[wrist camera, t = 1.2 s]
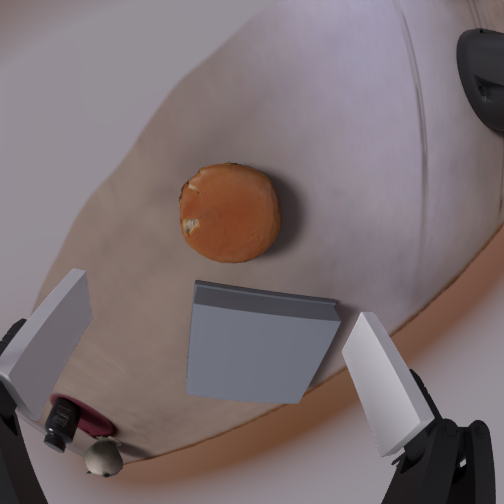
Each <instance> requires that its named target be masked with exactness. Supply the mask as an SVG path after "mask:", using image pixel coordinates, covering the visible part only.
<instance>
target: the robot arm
mask: <svg viewBox="0 0 504 504" xmlns="http://www.w3.org/2000/svg"><path fill="white" fill-rule="evenodd" d="M457 64H458V70H459V75H460V78H461V82H462V85H463V88H464V91H465V93H466V95H467V98H468V100H469V102H470V104H471V106H472V108H473V109H474V111H475V112H476V114H477V115H478V117H479V118H480V119H481V120H482V122H483V123H484V124H486V125H487V126H488V127H489V128H491V129H493V130H497V131H502V132H504V33H500V32H496V31H492V30H488V29H483V28H476V29H472V30H467V31H465V32H463V33H462V35H461V36H460V38H459V40H458V44H457ZM92 318H93V316H92V310H91V304H90V297H89V290H88V282H87V274H86V271H84V270H79V269H74V268H73V269H72V270H71V271H70V272H69V273H68V274H67V275H66V276H65V277H64V278H63V279H62V280H61V282H60V283H59V284H58V285H57V286H56V287H55V288H54V289H53V290H52V292H51V293H50V294H49V295H48V296H47V297H46V298H45V300H44V301H43V302H42V303H41V304H40V305H39V307H38V308H37V309H36V310H35V311H34V313H33V314H32V315H31V316H30V317H29V319H28V320H26V319H21V320H19V321H18V322H16V323H15V324H14V325H12V327H11V328H10V329H9V331H8V332H7V334H5V336H4V337H3V338H2V341H0V504H48V502H47V500H46V498H45V496H44V493H43V491H42V489H41V487H40V485H39V482H38V480H37V477H36V475H35V472H34V470H33V467H32V465H31V462H30V459H29V456H28V453H27V450H26V447H25V444H24V440H23V437H22V433H21V430H20V426H19V422H18V418H17V415H16V412H15V409H16V407H17V406H18V408H19V409H20V410H21V412H22V413H23V414H24V415H26V416H28V417H30V418H32V419H34V420H36V421H38V420H39V417H40V415H41V413H42V411H43V409H44V407H45V404H46V402H47V400H48V398H49V396H50V394H51V392H52V390H53V388H54V386H55V384H56V382H57V380H58V378H59V376H60V374H61V372H62V370H63V369H64V367H65V365H66V363H67V361H68V359H69V358H70V356H71V354H72V352H73V350H74V349H75V347H76V345H77V343H78V342H79V340H80V338H81V337H82V335H83V333H84V331H85V330H86V328H87V326H88V325H89V323H90V322H91V320H92ZM341 352H342V354H343V357H344V359H345V362H346V364H347V367H348V369H349V372H350V374H351V377H352V380H353V382H354V385H355V387H356V390H357V393H358V395H359V398H360V400H361V403H362V406H363V408H364V411H365V414H366V417H367V419H368V422H369V425H370V428H371V430H372V433H373V436H374V439H375V442H376V444H377V448H378V450H379V453H380V456H381V457H384V456H389V455H392V454H395V453H397V452H398V451H399V450H400V449H401V448H403V447H404V450H405V452H404V453H403V454H402V455H400V456H399V457H398V458H397V459H396V460H394V461H393V462H392V465H394V464H395V463H397V462H398V461H399V460H400V461H399V463H398V465H397V466H396V467H397V469H396V471H395V474H394V476H393V479H392V481H391V483H390V486H389V488H388V490H387V492H386V494H385V497H384V499H383V501H382V503H381V504H496V494H495V493H496V489H495V471H494V460H493V452H492V445H491V437H490V432H489V429H488V427H487V425H486V424H485V423H484V422H483V421H481V420H475V421H474V422H473V423H471V424H470V425H469V426H468V427H458V426H457V425H456V423H455V422H453V421H452V420H450V419H446V418H445V419H443V418H442V417H441V415H440V413H439V411H438V409H437V407H436V405H435V404H434V402H433V400H432V398H431V396H430V394H428V391H427V389H426V387H424V384H423V382H422V380H421V379H420V377H419V376H418V375H417V374H416V373H415V372H414V371H413V370H412V369H408V368H407V366H406V364H405V362H404V361H403V359H402V357H401V355H400V354H399V352H398V350H397V349H396V347H395V346H394V344H393V342H392V340H391V339H390V337H389V336H388V334H387V332H386V331H385V329H384V327H383V326H382V324H381V323H380V321H379V319H378V318H377V316H376V315H375V313H374V312H363V311H361V313H360V316H359V318H358V320H357V322H356V324H355V326H354V328H353V330H352V332H351V334H350V336H349V338H348V340H347V342H346V344H345V346H344V348H343V349H342V351H341ZM464 459H466V464H465V465H464V466H463V467H460V462H462V461H463V460H464Z"/></svg>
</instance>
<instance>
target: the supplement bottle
mask: <svg viewBox="0 0 504 504" xmlns="http://www.w3.org/2000/svg"><path fill="white" fill-rule="evenodd" d="M81 415H82V413H81V410H80V409H79V408H78V407H77V406H76V405H75V404H74V403H72V402H71V401H69V400H67V399H64V398H57V399H56V400H55V402H54V404H53V407H52V409H51V411H50V414H49V416H48V418H47V421H46V423H45V431H46V432H47V435H45V439H44V443H45V444H46V445H48V446H49V447H50V448H52V449H54V450H56V451H58V452H60V453H64V451H65V448H66V444H70V443H72V441H73V438H74V435H75V432H76V429H77V427H78V424H79V421H80V418H81Z"/></svg>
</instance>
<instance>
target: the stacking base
mask: <svg viewBox="0 0 504 504" xmlns="http://www.w3.org/2000/svg"><path fill="white" fill-rule="evenodd" d="M335 305H336V302H335V300H334V299H325V298H317V297H309V296H301V295H293V294H286V293H278V292H271V291H264V290H257V289H250V288H243V287H237V286H230V285H223V284H217V283H211V282H205V281H199V280H196V281H195V287H194V296H193V305H192V315H191V326H190V337H189V349H188V362H187V377H186V378H187V387H186V394H188V395H194V396H201V397H209V398H217V399H226V400H236V401H248V402H263V403H296V404H298V403H299V401H300V399H301V398H302V396H303V394H304V392H305V391H306V389H307V387H308V385H309V384H310V382H311V380H312V378H313V376H314V375H315V373H316V371H317V369H318V367H319V365H320V363H321V362H322V360H323V358H324V356H325V354H326V352H327V350H328V348H329V346H330V344H331V342H332V340H333V338H334V336H335V334H336V332H337V330H338V327H339V325H340V323H341V320H340V318H339V316H338V314H337V312H336V310H335Z"/></svg>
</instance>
